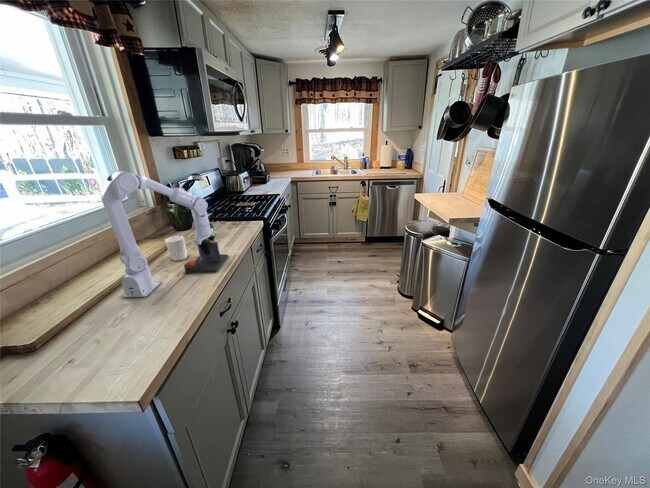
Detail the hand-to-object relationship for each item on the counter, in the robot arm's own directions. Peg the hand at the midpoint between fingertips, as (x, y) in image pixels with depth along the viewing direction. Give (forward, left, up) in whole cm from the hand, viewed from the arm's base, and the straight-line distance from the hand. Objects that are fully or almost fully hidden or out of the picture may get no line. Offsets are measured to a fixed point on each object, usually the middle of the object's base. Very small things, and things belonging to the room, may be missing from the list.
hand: (208, 253), depth 116 cm
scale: (-1, +1, -5) cm, 5 cm away
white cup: (+7, +18, -6) cm, 20 cm away
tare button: (-6, +5, -3) cm, 9 cm away
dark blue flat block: (0, 0, -3) cm, 4 cm away
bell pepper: (+33, +15, -6) cm, 37 cm away
